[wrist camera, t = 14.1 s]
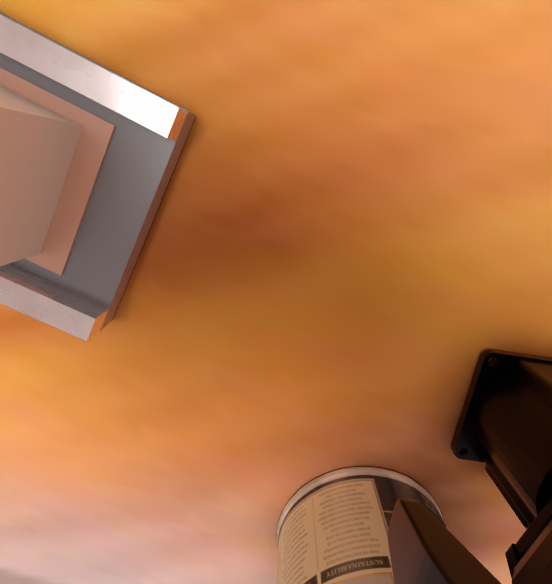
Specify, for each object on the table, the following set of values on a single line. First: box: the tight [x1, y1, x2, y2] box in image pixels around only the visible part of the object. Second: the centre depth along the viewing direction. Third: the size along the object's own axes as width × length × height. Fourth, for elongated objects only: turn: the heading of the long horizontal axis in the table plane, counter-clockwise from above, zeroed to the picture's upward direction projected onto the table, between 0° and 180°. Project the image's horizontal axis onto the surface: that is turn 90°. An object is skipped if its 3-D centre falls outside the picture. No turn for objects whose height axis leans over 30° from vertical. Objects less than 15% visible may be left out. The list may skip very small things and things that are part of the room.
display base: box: [0, 12, 195, 341], centre depth 18 cm, size 13×11×3 cm
